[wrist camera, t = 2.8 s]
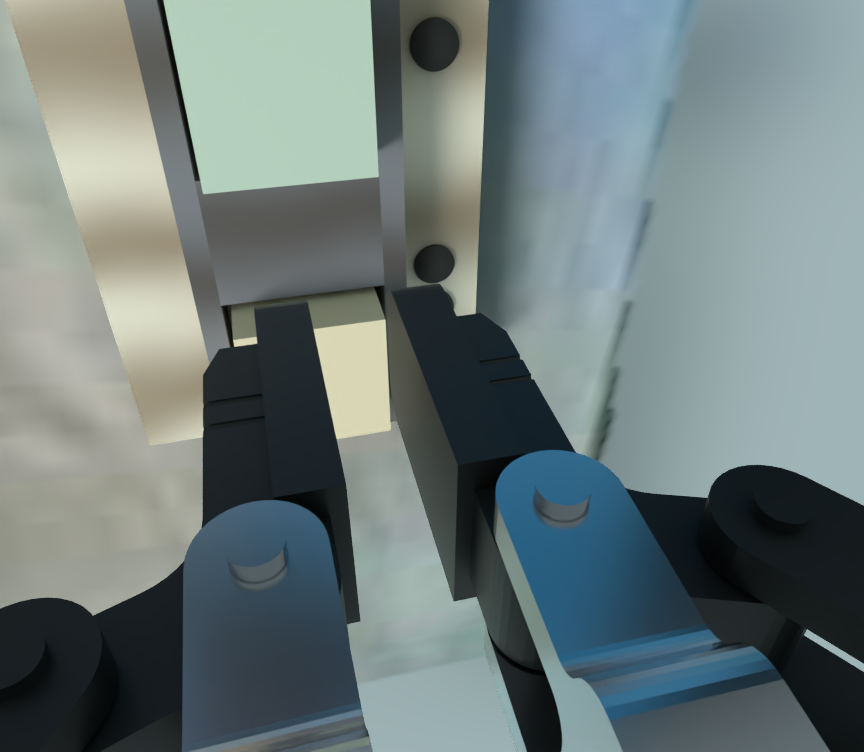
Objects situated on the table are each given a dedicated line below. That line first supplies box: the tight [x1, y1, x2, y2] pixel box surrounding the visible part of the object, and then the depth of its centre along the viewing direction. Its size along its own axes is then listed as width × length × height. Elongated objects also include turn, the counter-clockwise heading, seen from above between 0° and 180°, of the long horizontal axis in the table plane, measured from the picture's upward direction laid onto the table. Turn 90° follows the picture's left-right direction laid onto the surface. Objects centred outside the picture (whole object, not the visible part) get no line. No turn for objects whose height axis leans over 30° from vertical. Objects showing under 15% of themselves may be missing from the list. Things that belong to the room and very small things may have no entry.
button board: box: [5, 0, 489, 445], centre depth 23 cm, size 30×14×6 cm, turn 0°
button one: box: [163, 0, 379, 194], centre depth 20 cm, size 5×5×2 cm
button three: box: [231, 287, 391, 439], centre depth 27 cm, size 5×5×2 cm
